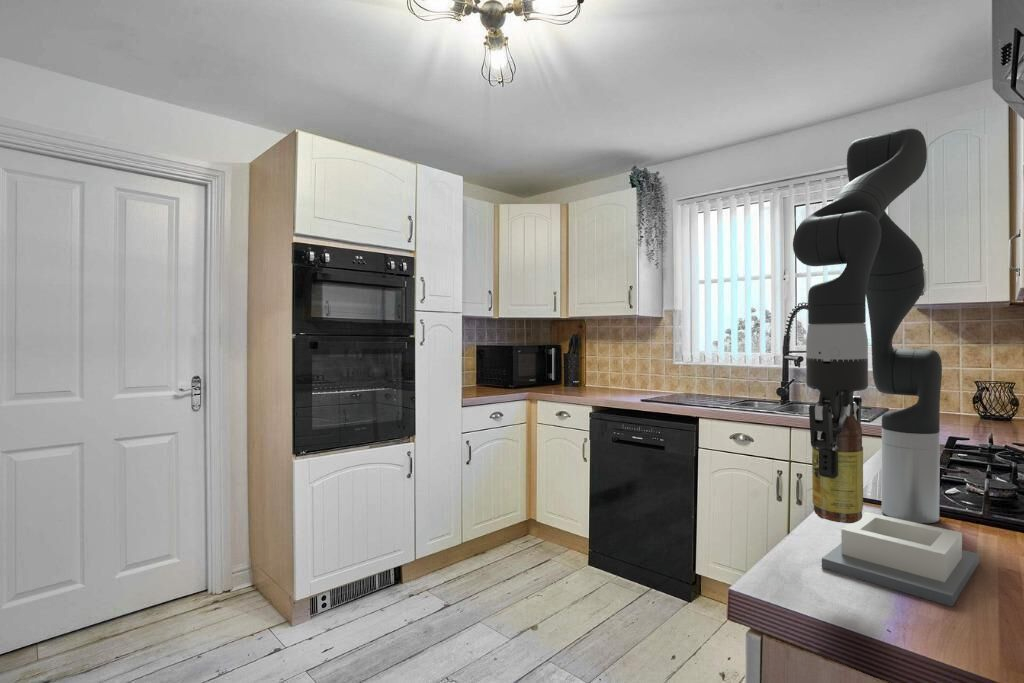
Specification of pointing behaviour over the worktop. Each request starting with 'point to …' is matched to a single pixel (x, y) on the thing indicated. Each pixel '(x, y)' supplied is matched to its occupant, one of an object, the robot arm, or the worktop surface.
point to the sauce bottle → (841, 475)
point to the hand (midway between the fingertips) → (836, 471)
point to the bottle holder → (904, 557)
